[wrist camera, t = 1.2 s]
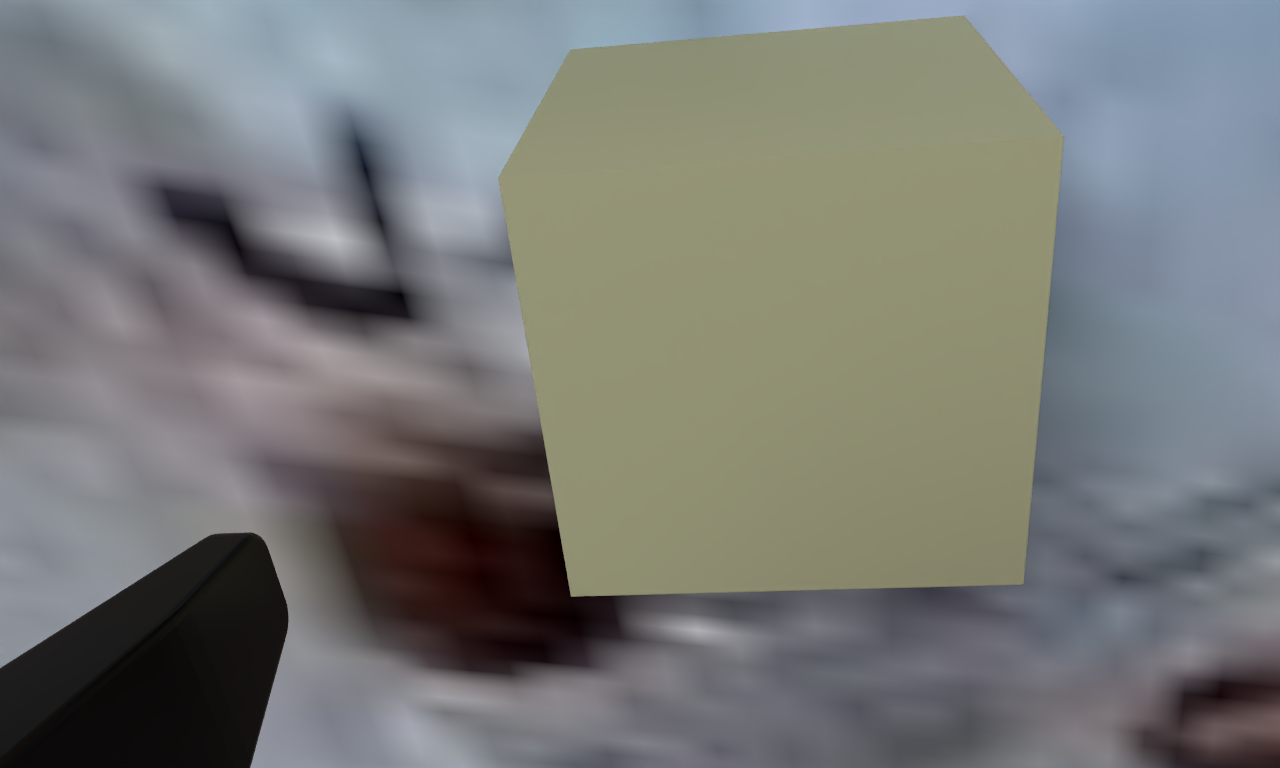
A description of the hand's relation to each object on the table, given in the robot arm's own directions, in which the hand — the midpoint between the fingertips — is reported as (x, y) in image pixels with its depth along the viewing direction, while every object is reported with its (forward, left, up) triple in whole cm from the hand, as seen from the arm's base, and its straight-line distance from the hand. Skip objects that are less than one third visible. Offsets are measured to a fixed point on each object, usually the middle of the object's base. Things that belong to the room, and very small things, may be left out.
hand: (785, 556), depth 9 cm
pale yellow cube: (0, 0, -7) cm, 7 cm away
